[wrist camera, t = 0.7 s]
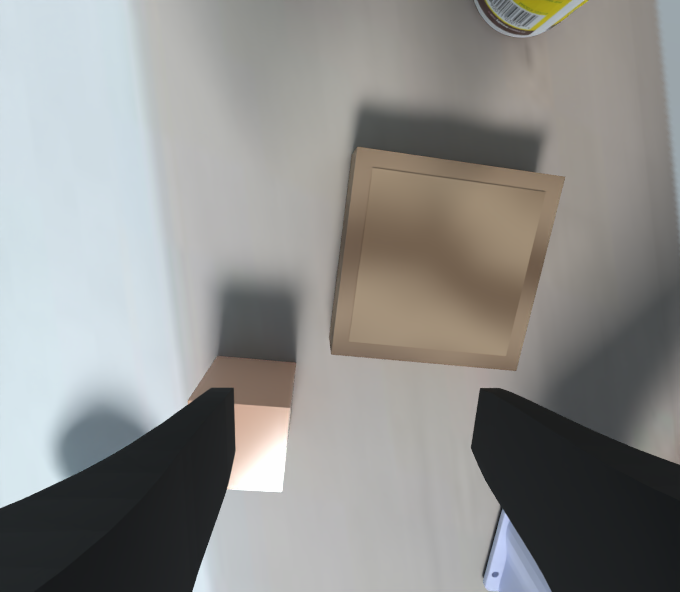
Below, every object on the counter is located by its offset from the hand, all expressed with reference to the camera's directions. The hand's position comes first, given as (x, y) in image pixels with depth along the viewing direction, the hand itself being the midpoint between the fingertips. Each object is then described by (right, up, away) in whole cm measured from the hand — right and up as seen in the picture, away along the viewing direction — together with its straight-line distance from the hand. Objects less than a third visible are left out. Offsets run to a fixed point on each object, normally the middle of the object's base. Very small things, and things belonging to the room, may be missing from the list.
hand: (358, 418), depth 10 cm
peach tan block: (-6, -2, +11) cm, 13 cm away
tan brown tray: (+4, +6, +10) cm, 12 cm away
